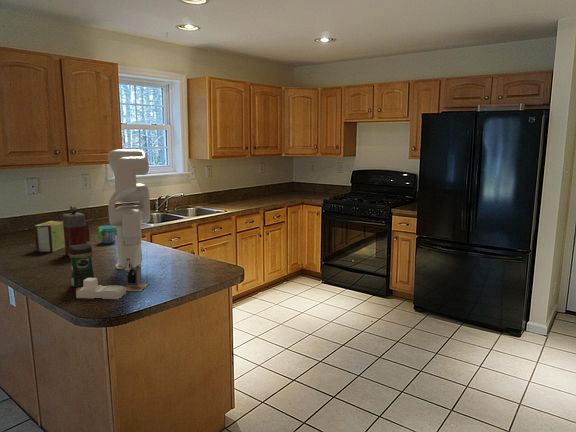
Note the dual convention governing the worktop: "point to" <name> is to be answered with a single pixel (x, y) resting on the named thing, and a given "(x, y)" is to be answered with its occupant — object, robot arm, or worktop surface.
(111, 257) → the worktop surface
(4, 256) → the worktop surface
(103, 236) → the snack cup
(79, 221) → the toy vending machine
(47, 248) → the protein box
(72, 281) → the coffee jar
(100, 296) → the power strip
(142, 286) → the coaster
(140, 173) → the robot arm
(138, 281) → the block
